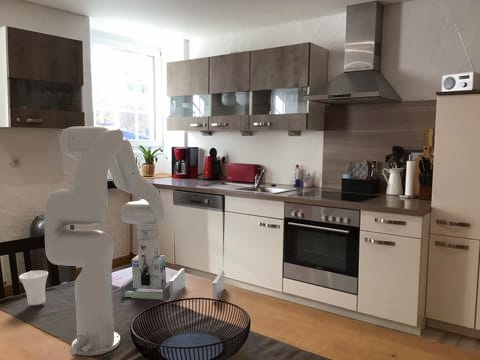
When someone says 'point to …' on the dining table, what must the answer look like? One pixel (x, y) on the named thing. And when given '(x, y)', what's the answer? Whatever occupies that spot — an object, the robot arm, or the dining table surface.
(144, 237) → the robot arm
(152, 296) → the tray
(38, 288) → the cup
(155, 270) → the light bulb box
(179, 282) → the white holder
